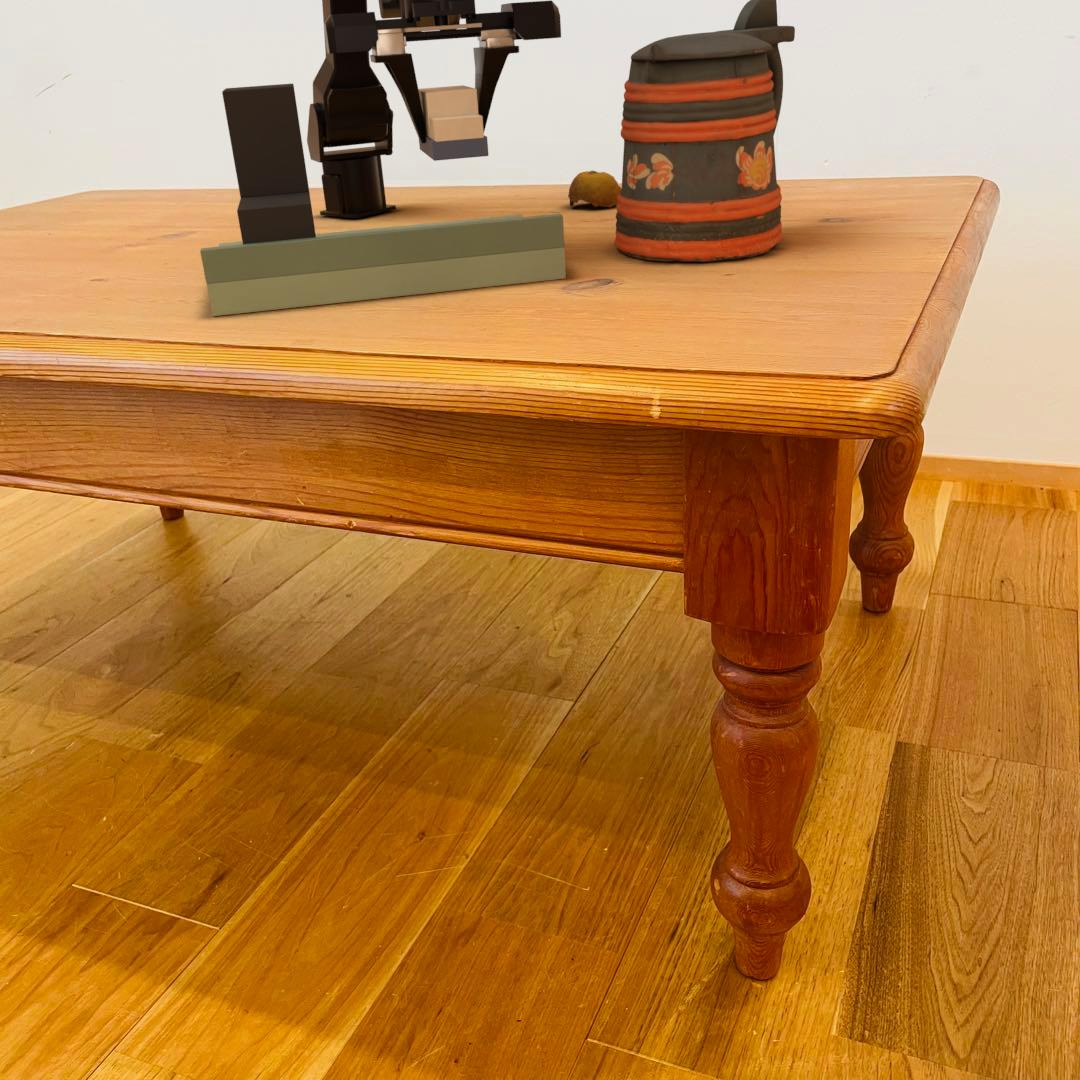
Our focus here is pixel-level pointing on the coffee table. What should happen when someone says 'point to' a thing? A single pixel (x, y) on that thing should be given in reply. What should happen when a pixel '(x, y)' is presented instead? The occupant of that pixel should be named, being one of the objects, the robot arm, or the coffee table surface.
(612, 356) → the coffee table surface
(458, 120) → the stepped wooden block stack
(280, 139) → the dark notched upright block
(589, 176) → the fruit
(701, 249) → the beer stein
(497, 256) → the olive green plank
